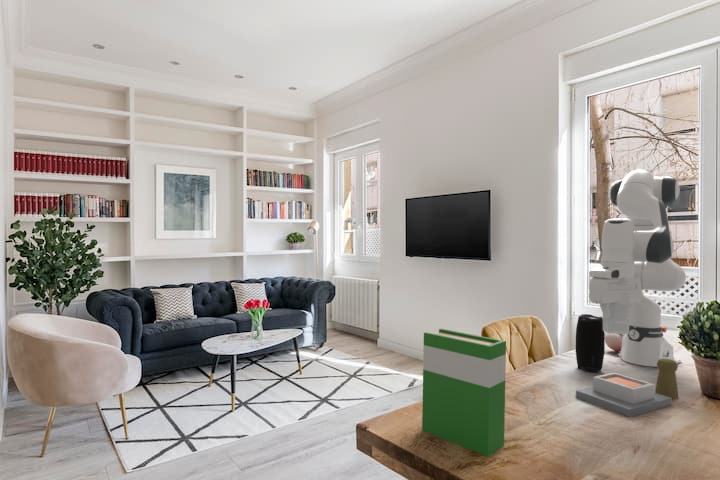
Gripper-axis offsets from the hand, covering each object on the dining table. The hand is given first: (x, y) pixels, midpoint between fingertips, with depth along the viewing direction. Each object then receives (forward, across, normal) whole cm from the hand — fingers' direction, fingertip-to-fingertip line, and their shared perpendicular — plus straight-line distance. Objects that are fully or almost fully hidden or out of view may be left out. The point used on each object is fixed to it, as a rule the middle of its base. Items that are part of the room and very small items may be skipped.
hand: (615, 317), depth 132 cm
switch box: (+24, 0, +3) cm, 24 cm away
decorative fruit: (+23, -51, -32) cm, 65 cm away
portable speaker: (+24, -18, -21) cm, 37 cm away
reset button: (+20, +1, +3) cm, 21 cm away
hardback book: (+25, +60, +2) cm, 65 cm away
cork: (+24, -16, +6) cm, 30 cm away
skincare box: (+5, 0, 0) cm, 5 cm away
